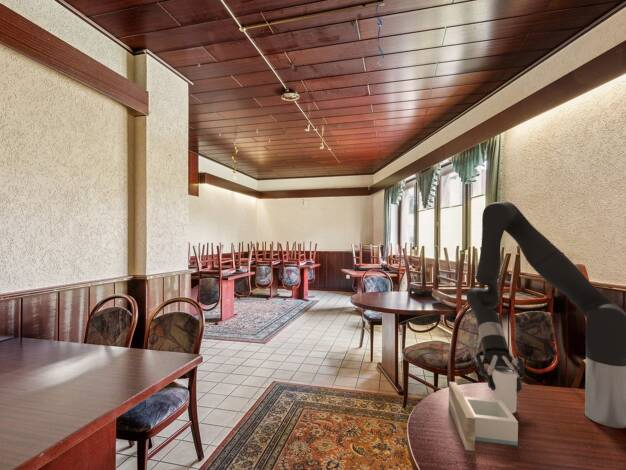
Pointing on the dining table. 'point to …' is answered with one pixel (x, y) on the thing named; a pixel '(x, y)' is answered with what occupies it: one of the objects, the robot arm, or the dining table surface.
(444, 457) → the dining table surface
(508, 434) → the socket block
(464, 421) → the stop board
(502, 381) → the can
